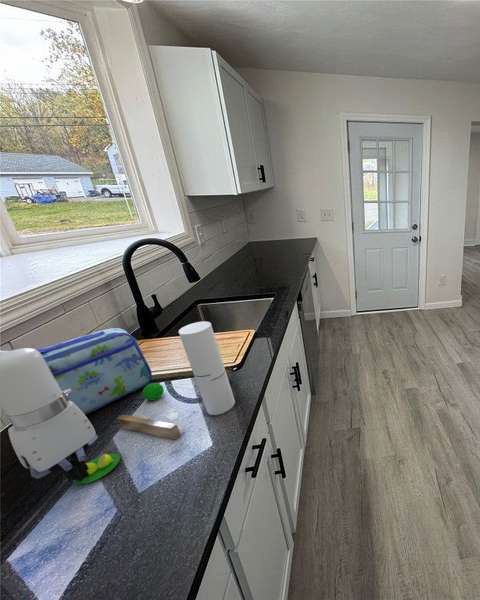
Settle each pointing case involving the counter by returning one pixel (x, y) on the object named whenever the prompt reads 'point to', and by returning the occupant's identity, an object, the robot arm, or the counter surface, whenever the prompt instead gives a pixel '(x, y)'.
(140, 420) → the rail
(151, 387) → the polyhedron
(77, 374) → the lunch box
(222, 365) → the cylindrical container
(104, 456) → the plate of yellow fruit
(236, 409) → the counter surface
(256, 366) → the counter surface
